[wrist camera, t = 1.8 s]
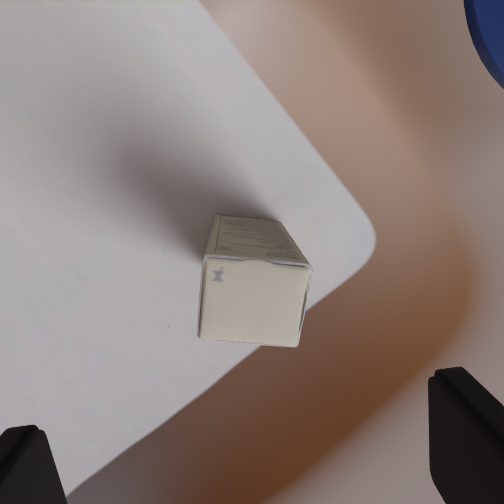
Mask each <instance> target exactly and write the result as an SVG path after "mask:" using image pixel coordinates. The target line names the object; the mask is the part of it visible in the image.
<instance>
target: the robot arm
mask: <svg viewBox="0 0 504 504" xmlns="http://www.w3.org/2000/svg"><path fill="white" fill-rule="evenodd" d="M428 402H429V457H430V473H431V476H432V480H433V482H434V484H435V486H436V488H437V490H438V491H439V493H440V495H441V496H442V498H443V500H444V501H445V503H446V504H504V406H503V405H502V404H501V403H500V402H499V401H498V400H497V399H496V398H495V397H494V396H492V394H490V393H489V392H488V391H487V390H486V389H485V388H484V387H483V386H482V385H481V384H480V383H479V382H478V381H477V380H476V379H475V378H474V377H473V376H472V375H470V373H468V372H467V371H466V370H465V369H464V368H463V367H453V368H446V369H439V370H436V371H435V374H434V377H430V378H429V380H428ZM0 504H67V501H66V497H65V494H64V491H63V488H62V484H61V481H60V478H59V475H58V472H57V468H56V465H55V462H54V459H53V456H52V452H51V449H50V446H49V443H48V440H47V437H46V434H45V432H44V431H43V430H39V429H38V427H37V426H36V425H27V426H19V427H12V428H8V429H6V430H5V431H4V432H3V433H2V435H1V436H0Z"/></svg>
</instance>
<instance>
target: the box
mask: <svg viewBox="0 0 504 504" xmlns="http://www.w3.org/2000/svg"><path fill="white" fill-rule="evenodd" d="M311 275H312V266H311V265H310V263H309V262H308V261H307V259H306V258H305V256H304V255H303V254H302V252H301V251H300V249H299V248H298V246H297V245H296V243H295V242H294V240H293V239H292V238H291V236H290V235H289V233H288V232H287V230H286V229H285V227H284V226H283V224H282V223H281V222H276V221H270V220H262V219H253V218H243V217H233V216H220V215H216V216H215V217H214V220H213V225H212V229H211V232H210V236H209V239H208V243H207V246H206V250H205V253H204V256H203V265H202V274H201V284H200V297H199V312H198V331H197V335H198V337H199V338H200V339H205V340H213V341H223V342H232V343H243V344H256V345H271V346H286V347H297V345H298V343H299V338H300V333H301V328H302V323H303V319H304V314H305V309H306V303H307V298H308V292H309V287H310V281H311Z"/></svg>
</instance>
